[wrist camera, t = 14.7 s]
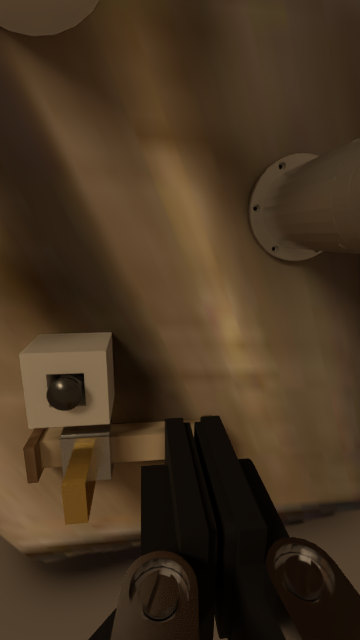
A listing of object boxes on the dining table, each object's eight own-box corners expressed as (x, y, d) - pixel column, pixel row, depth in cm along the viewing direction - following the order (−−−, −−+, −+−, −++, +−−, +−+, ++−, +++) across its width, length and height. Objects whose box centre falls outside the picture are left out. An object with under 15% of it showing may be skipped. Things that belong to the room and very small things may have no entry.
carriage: (111, 419, 43) (102, 475, 33) (113, 461, 45) (105, 527, 35) (66, 421, 43) (42, 479, 33) (70, 464, 44) (48, 532, 34)
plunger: (89, 356, 40) (79, 379, 34) (91, 382, 41) (82, 409, 35) (60, 357, 40) (44, 381, 33) (63, 383, 41) (48, 411, 34)
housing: (111, 332, 41) (105, 350, 35) (114, 397, 44) (109, 426, 37) (39, 334, 40) (19, 353, 34) (46, 400, 43) (29, 431, 36)
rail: (211, 415, 46) (219, 436, 41) (210, 445, 48) (218, 468, 43) (36, 425, 43) (23, 448, 39) (40, 456, 45) (27, 483, 40)
